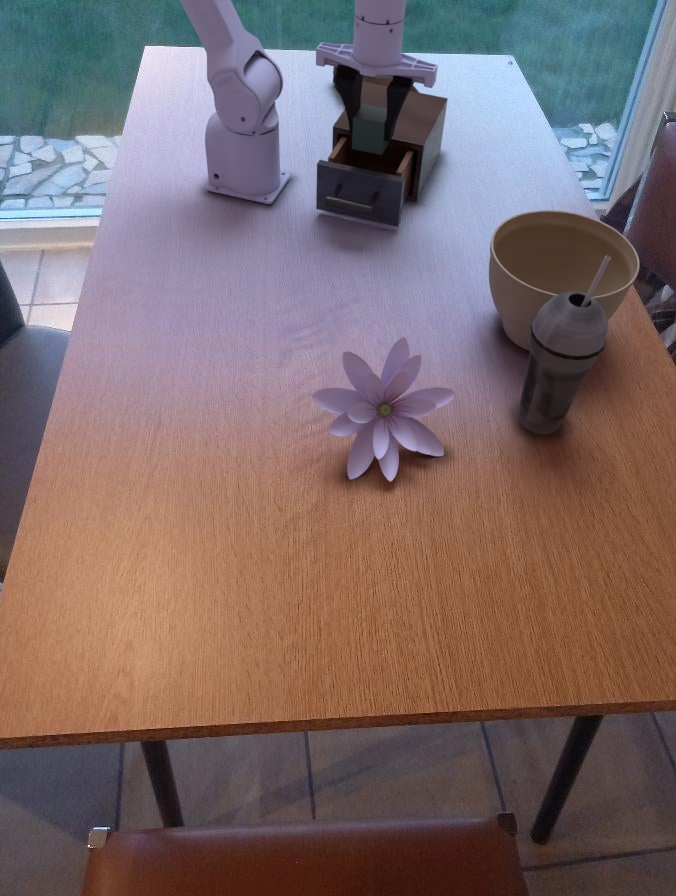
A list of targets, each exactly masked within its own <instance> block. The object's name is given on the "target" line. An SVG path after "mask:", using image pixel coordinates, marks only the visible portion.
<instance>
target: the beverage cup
mask: <svg viewBox="0 0 676 896" xmlns="http://www.w3.org/2000/svg"><path fill="white" fill-rule="evenodd" d="M609 261H610V257H609V256H605V258H604V260H603V262H602V264H601V266H600V268H599V270H598V272H597V274H596V276H595V279H594V281H593V283H592V285H591V287H590V289H589V291H588V293H587V294H585V293H581V292H574V291H572V292H565V293H561V294H559V295H556V296H554V297H553V298H551V299H550V300H549V301H548V302H547V303H545V304H544V305H543V306H542V307H541V309H540V310H539V312H538V314H537V316H536V318H535V319H534V321H533V323H532V325H531V338H530V351H529V353H528V359H527V360H528V361H527V365H526V370H525V375H524V379H523V380H524V381H523V385H522V390H521V397H520V402H519V413H518V421H519V422H520V424H521V426H522V427H523V428H524V429H526V430H527V431H529V432H531V433H534V434H537V435H550V434H552V433H554V432H555V433H556V431H557V430H558V429H559V427H560V425H561V424H562V422H563V420H564V419H565V418H566V415H568V412H569V410H570V408H571V406H572V404H573V403H574V400H575V398H576V396H577V394H578V393H579V391H580V389H581V386H582V384H583V382H584V380H585V378H586V377H587V374H588V373H589V371H590V369H591V367H592V366H593V365H594V364H595V362H596V361H597V359H598V358H599V357H600V355H601V353H602V352H603V351H604V350H605V348H606V344H607V337H608V336H607V335H608V332H609V331H608V330H609V328H608V321H607V319H606V315H605V312H604V310H603V308H602V307H601V305H600V304H599V303H598V302H597V301H596V300H595V299H594V298H593V297H592V295H593V293H594V291H595V289H596V287H597V285H598V283H599V281H600V279H601V277H602V275H603V273H604V271H605V269H606V267H607V265H608V263H609Z"/></svg>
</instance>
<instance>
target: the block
mask: <svg viewBox="0 0 676 896" xmlns="http://www.w3.org/2000/svg"><path fill="white" fill-rule="evenodd" d="M386 118H387V109H386V108H381V107H376V106H371V105H366V104H362V105H361V107H360V108H359V110H358V111H357V113H356V114H355V116H354V117H353V134H352V149H355V150H360V151H364V152H369V153H374V154H379V155H382V153H383V152H384V150H385V148H386V146H387V145H388V143H389V141H385V126H386Z"/></svg>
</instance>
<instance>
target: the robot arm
mask: <svg viewBox="0 0 676 896" xmlns="http://www.w3.org/2000/svg"><path fill="white" fill-rule="evenodd" d="M179 1H180V4H181V6H182V8H183V10H184V12H185V13H186V15H187V17H188V19H189V22H190V23H191V26H192V28H193V29H194V31H195V33H196V35H197V37H198V39H199V41H200V43H201V45H202V47H203V49H204V52H205V53H206V80H207V82H208V84H209V86H210V88H211V92H212V95H213V101H214V102H213V103H214V109H215V112H213V113H212V114H211V115H210V117H209V119H208V120H207V123H206V127H205V133H204V148H205V158H206V167H207V177H208V184H207V186H206V189H207V191H208V192H212V193H216V194H221V195H225V196H230V197H235V198H239V199H244V200H248V201H253V202H257V203H261V204H266V205H272V204H274V202H275V201H276V199H277V197H278V196H279V195H280V193H281V191H282V190H283V189H284V187H285V185H287V183H288V182H289V180H290V179H291V174H290V173H288V172H284V171H281V156H280V154H281V151H280V150H281V149H280V118H279V114H278V110H277V107H276V101H277V99H279V97H280V96H281V94H282V92H283V88H284V77H283V74H282V71H281V69H280V67H279V65H278V63H277V62H276V61H275V60H274V59H273V58H272V57H271V56H270V55H269V54H268V53H267V52H266V51H265V49H264V48H263V46H262V43H261V41H260V39H259V38H257V37H256V36H255V35H253V34H252V33H250V32H249V31H247V30H246V29H245V27H244V25H243V23H242V21H241V18H240V17H239V14H238V13H237V10H236V8H235V6H234V3H233V2H232V0H179ZM406 7H407V0H354V19H353V41H352V44H353V45H346V43H344V44H343V43H329V42H322V41H321V42H320V43H318V46H316V48H315V66H318V67H324V68H325V66H330V67H334V66H335V67H337V74H336V76H335V77H334V81H335V85H336V86H335V85H334V86H335V88H336V87H337V88H336V89H337V91H338V93H339V95H340V98H341V100H342V103H343V106H344V109H345V110H346V113H347V118H348V123H349V129H350V134H353V117H354V116H355V114H356V113H357V111H358V110H359V108H360V107H361V91H362V83H363V75H365V76H370V77H376V76H377V75H380V76H385V77H390V78H393V80H392V82H390V84H389V86H388V87H387V118H386V126H385V141H390V140H391V138H392V137H393V135H394V130H395V126H396V122H397V119H398V116H399V113H400V111H401V108H402V106H403V104H404V101H405V99H406V97H407V95H408V93H409V91H410V89H411V88H412V86H413V85H414V84H415V83H416V84H421V85H423V87H425V88H428V89H433V87H434V86H435V84H436V82H437V75H438V67H439V65H438V64H436V63H432V62H428V61H425V60H422V59H420V58H417V57H415V56H411V55H408V54H406V53H404V52H402V49H403V37H404V30H405V29H404V28H405V16H406Z"/></svg>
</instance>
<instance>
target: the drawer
mask: <svg viewBox="0 0 676 896" xmlns="http://www.w3.org/2000/svg"><path fill="white" fill-rule="evenodd" d="M417 151H418V150H417V149H412V148H407V147H402V146H397V145H393V144H388V145H387V146H386V148H385V150H384V152H383V153H382V155H379V154H374V153H369V152H364V151H360V150H355V149H352V136H349V135H345V134H343V136H342V137H341V139H340V140H339V142H338V143H337V145H336V146H335V148H334V149H333V151H332V150H331V153H330V154H329V155H328V157H327V160H324V159H319V160H318V161H317V163H316V197H315V198H316V199H315V201H316V202H315V203H316V204H315V206H316V207H315V208H316V210H319V211H324V212H328V213H333V214H336V215H340V216H341V215H342V216H346V217H350V218H355V219H360V220H363V221H368V222H373V223H376V224H381V225H382V224H383V225H386V226H391V227H395V228H399V226H400V224H401V220H402V219H401V218H402V210H403V204H404V203H405V201H406V200H405V199H406V197H407V195H408V193H409V191H410V189H411V187H412V185H413V182H414V176H415V167H416V159H417Z"/></svg>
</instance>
